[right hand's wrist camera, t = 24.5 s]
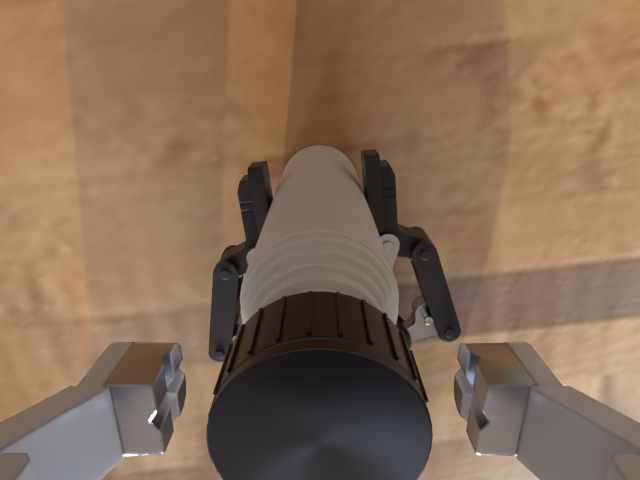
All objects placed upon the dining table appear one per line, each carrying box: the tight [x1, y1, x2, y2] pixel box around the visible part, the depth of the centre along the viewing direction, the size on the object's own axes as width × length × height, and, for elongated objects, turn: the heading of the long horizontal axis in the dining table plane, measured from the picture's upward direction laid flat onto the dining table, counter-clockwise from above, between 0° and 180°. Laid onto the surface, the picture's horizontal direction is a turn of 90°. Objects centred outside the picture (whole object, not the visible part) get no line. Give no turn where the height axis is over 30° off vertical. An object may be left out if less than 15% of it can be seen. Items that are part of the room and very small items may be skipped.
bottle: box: [240, 145, 399, 325], centre depth 18 cm, size 5×5×20 cm
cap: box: [207, 291, 432, 480], centre depth 9 cm, size 4×4×2 cm
